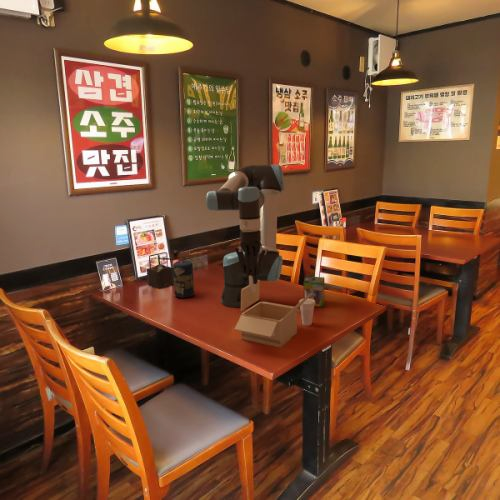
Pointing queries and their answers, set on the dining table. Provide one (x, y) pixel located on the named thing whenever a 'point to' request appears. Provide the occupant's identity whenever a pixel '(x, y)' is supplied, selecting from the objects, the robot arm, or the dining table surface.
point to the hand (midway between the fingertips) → (252, 291)
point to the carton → (274, 313)
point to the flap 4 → (298, 305)
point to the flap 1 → (249, 296)
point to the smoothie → (307, 311)
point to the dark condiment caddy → (161, 273)
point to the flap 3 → (282, 305)
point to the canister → (183, 278)
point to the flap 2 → (256, 326)
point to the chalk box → (315, 289)
